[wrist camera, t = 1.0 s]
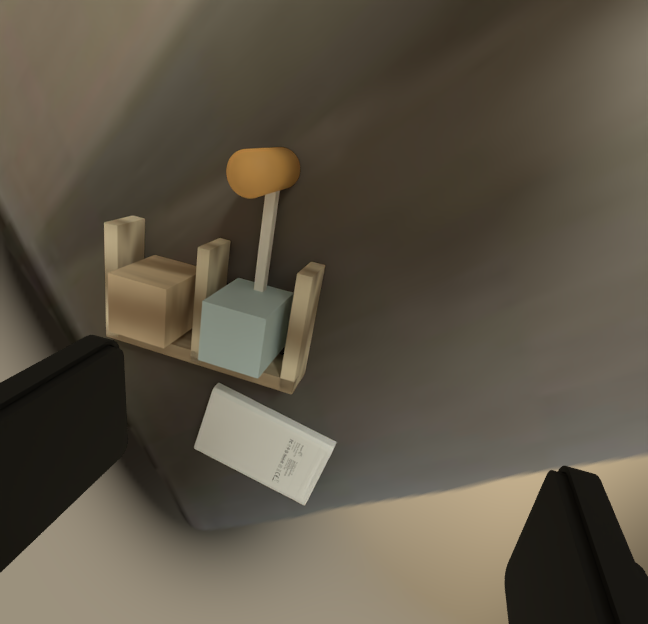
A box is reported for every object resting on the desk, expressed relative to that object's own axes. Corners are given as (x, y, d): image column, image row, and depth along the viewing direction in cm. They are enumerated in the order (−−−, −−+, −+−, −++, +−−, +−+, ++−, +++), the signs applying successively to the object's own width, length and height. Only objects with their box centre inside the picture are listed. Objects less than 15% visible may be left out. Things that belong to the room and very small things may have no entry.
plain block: (155, 254, 39) (107, 272, 34) (206, 268, 38) (166, 289, 33) (153, 306, 41) (108, 331, 36) (202, 320, 40) (164, 348, 35)
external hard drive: (221, 379, 43) (338, 438, 42) (201, 440, 46) (308, 496, 45) (212, 387, 41) (333, 449, 40) (192, 450, 45) (303, 508, 44)
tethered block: (252, 140, 33) (214, 141, 28) (316, 154, 33) (288, 157, 27) (232, 329, 40) (197, 359, 34) (285, 345, 39) (258, 378, 34)
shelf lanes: (132, 215, 38) (104, 222, 35) (325, 265, 35) (312, 277, 32) (132, 321, 42) (106, 336, 39) (304, 374, 39) (291, 394, 36)
